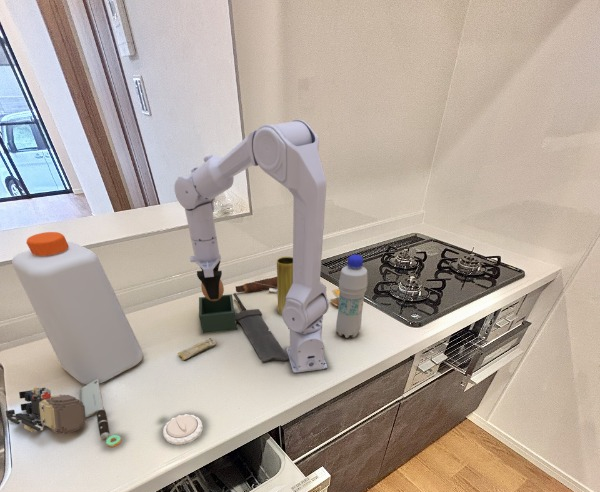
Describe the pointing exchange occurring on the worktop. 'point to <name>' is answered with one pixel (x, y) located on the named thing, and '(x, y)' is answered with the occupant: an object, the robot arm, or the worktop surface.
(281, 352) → the flat dark sword
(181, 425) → the white round disc
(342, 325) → the bottle
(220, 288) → the egg
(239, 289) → the hand tool
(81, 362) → the plastic bottle
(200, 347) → the snack bar
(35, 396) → the toy
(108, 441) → the donut
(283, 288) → the vase
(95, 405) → the cleaver
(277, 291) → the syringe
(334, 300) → the shell
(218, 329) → the tote
